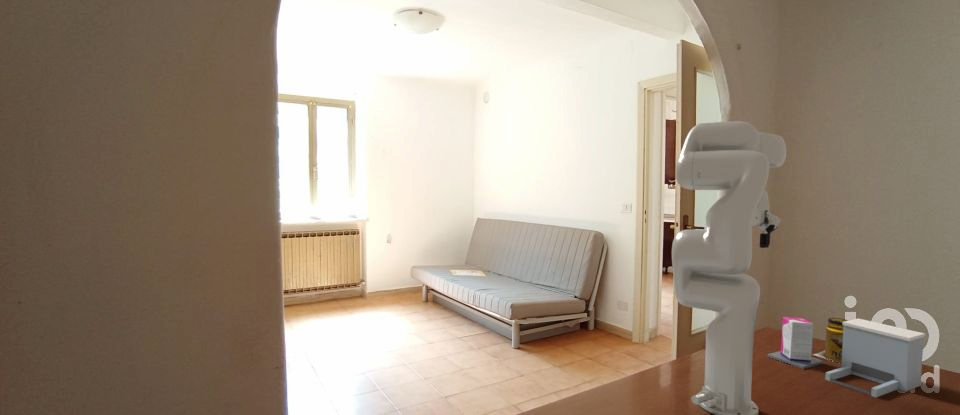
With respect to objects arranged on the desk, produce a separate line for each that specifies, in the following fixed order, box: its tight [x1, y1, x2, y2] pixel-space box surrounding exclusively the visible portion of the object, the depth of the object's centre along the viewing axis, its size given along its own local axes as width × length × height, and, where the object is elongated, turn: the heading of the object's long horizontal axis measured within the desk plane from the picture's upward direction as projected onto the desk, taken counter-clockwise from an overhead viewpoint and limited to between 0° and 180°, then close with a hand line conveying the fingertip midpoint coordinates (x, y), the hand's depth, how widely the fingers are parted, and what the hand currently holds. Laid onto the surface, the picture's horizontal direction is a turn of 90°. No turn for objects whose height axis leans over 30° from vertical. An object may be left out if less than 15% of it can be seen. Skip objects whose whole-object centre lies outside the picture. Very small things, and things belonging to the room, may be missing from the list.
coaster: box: [766, 350, 824, 370], centre depth 132 cm, size 10×10×1 cm
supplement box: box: [780, 316, 814, 362], centre depth 132 cm, size 6×6×12 cm
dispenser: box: [824, 318, 926, 398], centre depth 118 cm, size 19×14×14 cm
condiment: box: [812, 317, 849, 363], centre depth 134 cm, size 7×8×12 cm
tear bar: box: [829, 379, 872, 397], centre depth 114 cm, size 1×9×1 cm, turn 26°
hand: (747, 245), depth 129 cm, fingers open, 9 cm apart
